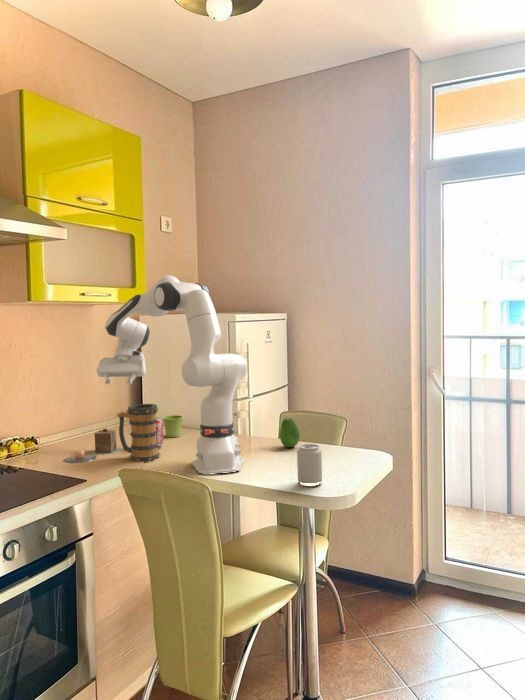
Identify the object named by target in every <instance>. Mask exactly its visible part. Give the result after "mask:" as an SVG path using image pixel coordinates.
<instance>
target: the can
mask: <svg viewBox="0 0 525 700" xmlns="http://www.w3.org/2000/svg"><path fill="white" fill-rule="evenodd" d="M322 455H323V454H322V450H321V449H320V445H318V444H314V443H304V444H300V445H299V446H298V449H297V451H296V457H297V458H296V462H297V463H296V464H297V465H296V466H297V482H298V481H299V482H302V483H317V482H321V481H322V482H323V465H322V464H323V463H322V461H323V459H322ZM299 482H298V483H299Z"/></svg>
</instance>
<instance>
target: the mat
mask: <svg viewBox="0 0 525 700" xmlns="http://www.w3.org/2000/svg"><path fill="white" fill-rule="evenodd" d="M122 449H123V447H117V449H116V450H115V451H114V452H112V453H95V450H94V451H93V452H91V453H89V454H88V455H93V456H97V455H116V454H117V453H118V452H120V450H122Z"/></svg>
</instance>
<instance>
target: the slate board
mask: <svg viewBox="0 0 525 700" xmlns="http://www.w3.org/2000/svg"><path fill="white" fill-rule="evenodd" d="M84 455H85V459H83V460H75V455H72V456H70V457H66V458H64V459H63V463H65V464H82V463H88V462H92V461H94V460H96V459H97V455H89V454H84Z"/></svg>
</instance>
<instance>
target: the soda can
mask: <svg viewBox="0 0 525 700" xmlns="http://www.w3.org/2000/svg"><path fill="white" fill-rule="evenodd" d="M156 419H157V421H156V429H155V430H156V432H158V433H157V434H156V442H157V443H158V444H157V445H158V447H157V450H160V449H162V447H163V446H164V431H163V430H164V429H163V422H162V421H163V420H161V417H156ZM159 448H160V449H159Z"/></svg>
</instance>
